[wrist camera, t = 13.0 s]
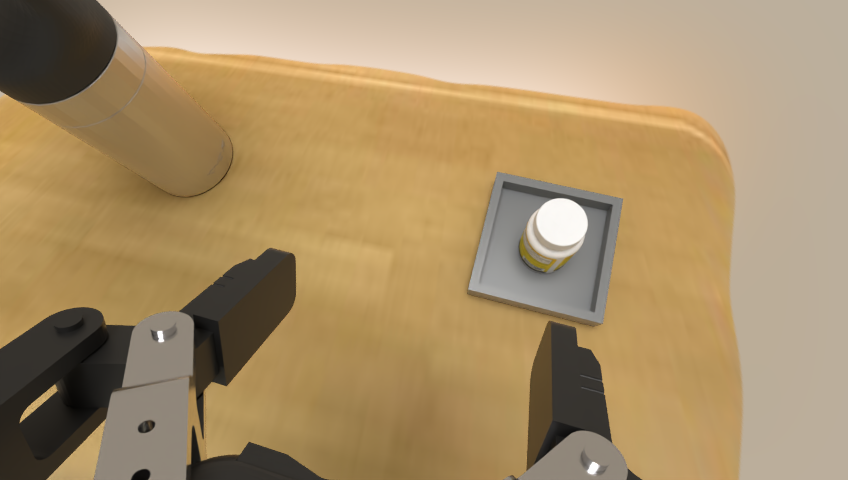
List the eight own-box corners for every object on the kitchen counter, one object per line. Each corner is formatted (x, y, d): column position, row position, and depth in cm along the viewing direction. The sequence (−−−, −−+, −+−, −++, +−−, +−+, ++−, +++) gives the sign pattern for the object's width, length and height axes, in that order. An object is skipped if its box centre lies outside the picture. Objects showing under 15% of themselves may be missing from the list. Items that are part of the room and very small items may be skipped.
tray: (467, 293, 42) (468, 289, 40) (495, 182, 45) (497, 171, 43) (594, 326, 40) (602, 323, 38) (614, 208, 44) (622, 198, 41)
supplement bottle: (563, 224, 43) (587, 190, 35) (572, 271, 41) (600, 247, 33) (513, 229, 43) (526, 197, 35) (521, 276, 41) (536, 254, 33)
